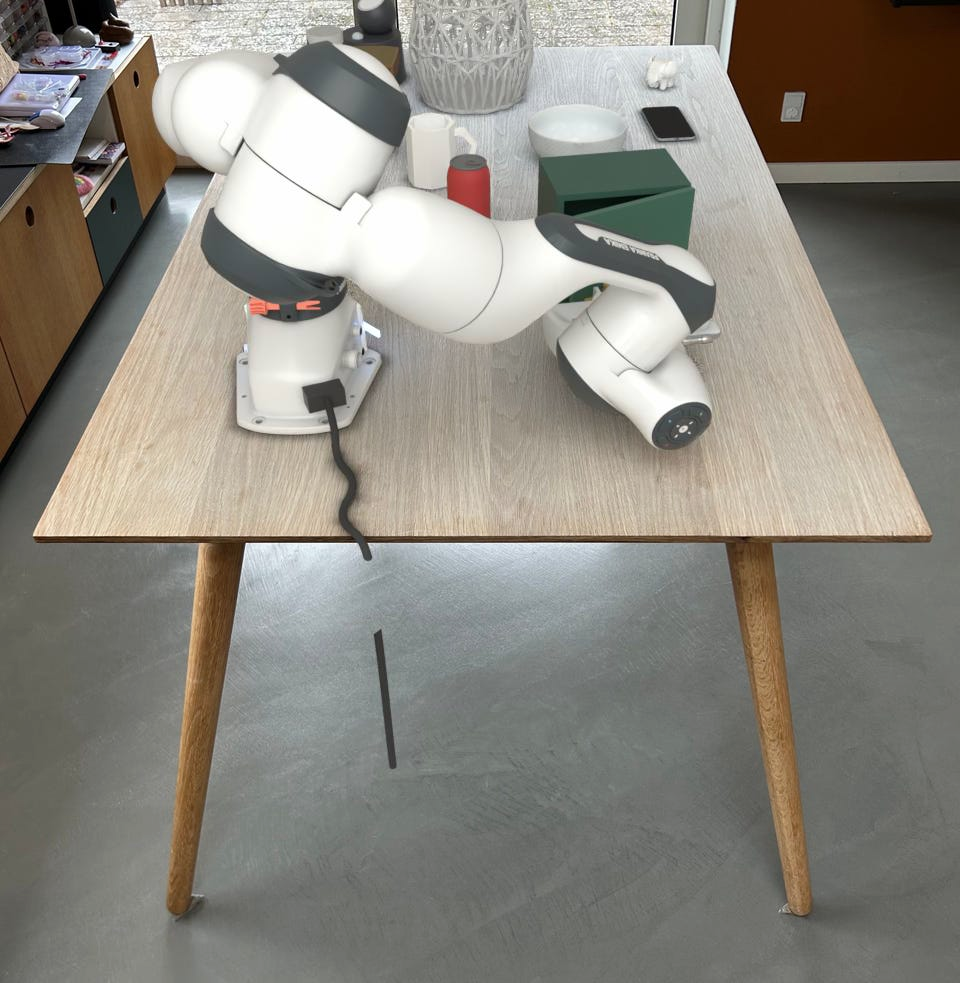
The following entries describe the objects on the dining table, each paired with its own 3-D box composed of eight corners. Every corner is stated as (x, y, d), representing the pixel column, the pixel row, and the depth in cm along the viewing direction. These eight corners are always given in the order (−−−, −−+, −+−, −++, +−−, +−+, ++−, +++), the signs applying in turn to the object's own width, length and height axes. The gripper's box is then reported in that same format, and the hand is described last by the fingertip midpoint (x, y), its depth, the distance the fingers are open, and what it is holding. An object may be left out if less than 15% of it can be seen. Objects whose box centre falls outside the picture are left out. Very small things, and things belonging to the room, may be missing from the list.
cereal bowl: (514, 173, 180) (515, 133, 176) (543, 137, 192) (544, 99, 188) (610, 187, 176) (613, 146, 171) (634, 149, 188) (637, 110, 183)
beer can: (486, 246, 160) (485, 171, 152) (444, 243, 161) (441, 168, 153) (494, 227, 165) (494, 153, 157) (453, 224, 166) (451, 150, 158)
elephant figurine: (634, 88, 211) (637, 58, 207) (660, 78, 215) (663, 48, 211) (660, 97, 207) (663, 66, 203) (686, 86, 211) (689, 56, 207)
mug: (408, 190, 176) (405, 133, 169) (408, 169, 182) (405, 113, 176) (479, 188, 176) (478, 130, 170) (477, 167, 182) (476, 111, 176)
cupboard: (677, 298, 148) (691, 183, 137) (552, 309, 146) (557, 194, 135) (653, 257, 157) (665, 147, 146) (535, 268, 155) (538, 157, 144)
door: (704, 318, 143) (720, 204, 132) (592, 353, 137) (600, 236, 126) (676, 298, 147) (691, 186, 137) (567, 330, 141) (573, 215, 130)
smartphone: (657, 138, 189) (640, 107, 201) (656, 141, 190) (640, 110, 201) (696, 136, 190) (677, 105, 201) (696, 140, 190) (677, 109, 201)
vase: (476, 66, 222) (473, -93, 202) (557, 96, 208) (563, -72, 188) (386, 95, 209) (375, -71, 190) (467, 129, 196) (463, -47, 176)
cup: (348, 104, 206) (341, 24, 196) (351, 116, 201) (343, 35, 191) (314, 106, 205) (305, 26, 195) (315, 119, 200) (306, 37, 190)
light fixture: (316, -2, 206) (370, -17, 214) (324, 80, 216) (376, 63, 224) (361, 11, 199) (415, -5, 207) (367, 96, 209) (419, 77, 217)
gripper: (729, 316, 122) (691, 260, 132) (558, 334, 119) (533, 275, 130) (722, 361, 126) (685, 303, 136) (556, 380, 123) (532, 319, 134)
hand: (610, 290), depth 133 cm, fingers closed
